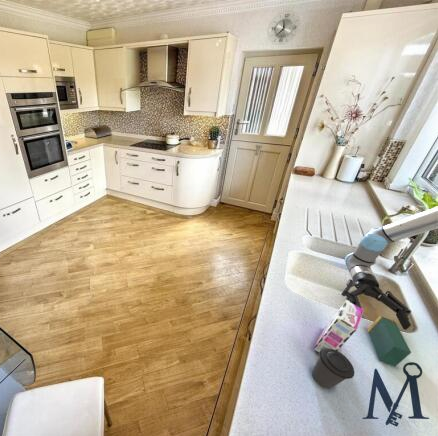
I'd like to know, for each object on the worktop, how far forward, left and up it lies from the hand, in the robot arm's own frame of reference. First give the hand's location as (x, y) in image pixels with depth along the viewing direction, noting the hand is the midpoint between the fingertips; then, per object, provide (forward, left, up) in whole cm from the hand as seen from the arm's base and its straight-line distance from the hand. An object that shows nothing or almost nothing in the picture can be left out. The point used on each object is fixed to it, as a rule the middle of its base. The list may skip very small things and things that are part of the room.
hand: (382, 318), depth 81 cm
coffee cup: (+20, +28, -6) cm, 35 cm away
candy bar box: (+17, +15, -6) cm, 24 cm away
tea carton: (0, +7, -6) cm, 9 cm away
